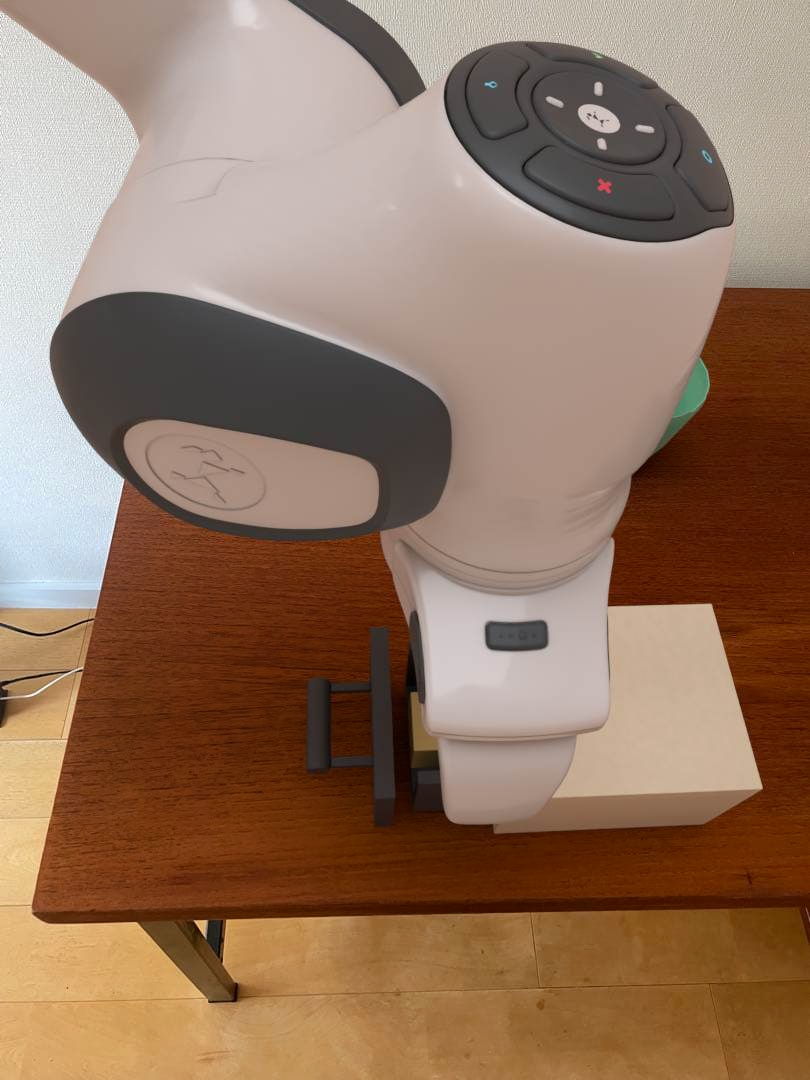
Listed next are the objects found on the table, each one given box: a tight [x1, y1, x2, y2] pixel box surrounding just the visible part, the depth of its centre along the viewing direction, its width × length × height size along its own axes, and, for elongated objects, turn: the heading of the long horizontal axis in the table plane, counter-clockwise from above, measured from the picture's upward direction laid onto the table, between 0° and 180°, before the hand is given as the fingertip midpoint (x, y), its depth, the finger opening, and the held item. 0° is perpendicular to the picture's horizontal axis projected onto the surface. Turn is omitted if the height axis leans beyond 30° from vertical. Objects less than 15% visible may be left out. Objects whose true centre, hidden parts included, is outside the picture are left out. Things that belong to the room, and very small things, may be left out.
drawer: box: [305, 626, 444, 828], centre depth 54 cm, size 18×11×8 cm, turn 93°
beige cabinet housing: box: [492, 603, 764, 835], centre depth 54 cm, size 15×12×10 cm
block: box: [407, 692, 440, 768], centre depth 54 cm, size 4×4×4 cm
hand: (456, 651), depth 43 cm, fingers open, 8 cm apart
